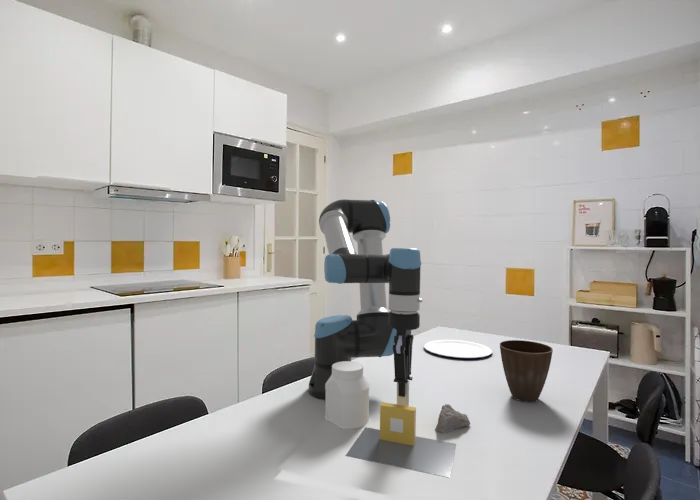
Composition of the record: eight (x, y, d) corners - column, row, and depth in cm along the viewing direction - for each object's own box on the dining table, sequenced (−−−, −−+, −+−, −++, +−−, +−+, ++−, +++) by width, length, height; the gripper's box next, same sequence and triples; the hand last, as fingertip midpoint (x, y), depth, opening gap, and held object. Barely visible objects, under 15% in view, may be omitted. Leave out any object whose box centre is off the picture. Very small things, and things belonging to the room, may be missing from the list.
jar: (375, 425, 102) (376, 367, 102) (348, 437, 96) (348, 375, 95) (345, 410, 110) (346, 357, 110) (318, 420, 104) (319, 364, 104)
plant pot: (542, 412, 111) (543, 356, 111) (490, 397, 121) (491, 346, 121) (557, 397, 122) (558, 346, 122) (509, 385, 132) (510, 337, 132)
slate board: (345, 461, 85) (345, 455, 85) (365, 431, 98) (365, 427, 98) (449, 483, 77) (450, 477, 77) (456, 448, 91) (456, 443, 91)
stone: (459, 444, 93) (459, 419, 93) (427, 434, 98) (427, 410, 98) (472, 428, 101) (473, 405, 101) (442, 419, 106) (443, 398, 106)
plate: (502, 362, 159) (502, 357, 159) (430, 360, 159) (430, 356, 159) (479, 343, 188) (480, 339, 188) (418, 342, 189) (418, 338, 188)
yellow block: (379, 439, 92) (380, 405, 92) (382, 435, 94) (382, 402, 94) (413, 446, 89) (414, 411, 89) (415, 441, 91) (415, 407, 91)
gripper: (414, 317, 88) (413, 421, 89) (423, 308, 100) (422, 400, 101) (382, 314, 91) (380, 416, 91) (395, 306, 103) (393, 396, 103)
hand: (402, 407), depth 96 cm, fingers closed
